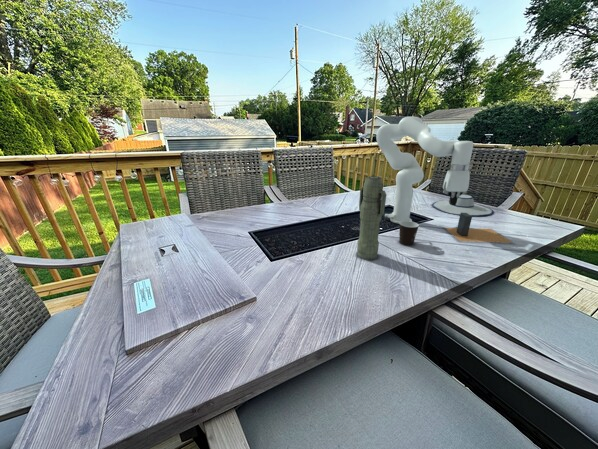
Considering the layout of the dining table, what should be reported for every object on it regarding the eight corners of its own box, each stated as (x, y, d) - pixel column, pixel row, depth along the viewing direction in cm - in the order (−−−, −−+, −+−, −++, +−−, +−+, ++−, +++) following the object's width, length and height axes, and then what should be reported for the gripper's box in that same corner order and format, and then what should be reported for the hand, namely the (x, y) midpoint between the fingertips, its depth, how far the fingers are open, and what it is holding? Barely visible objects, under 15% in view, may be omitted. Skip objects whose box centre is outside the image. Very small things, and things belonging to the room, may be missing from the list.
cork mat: (459, 241, 122) (459, 240, 122) (444, 228, 139) (444, 227, 139) (512, 243, 119) (512, 242, 119) (490, 229, 136) (490, 229, 136)
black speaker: (461, 236, 127) (465, 216, 123) (455, 231, 133) (460, 212, 129) (467, 236, 127) (472, 216, 123) (461, 232, 132) (466, 212, 129)
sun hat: (431, 200, 196) (433, 188, 193) (485, 204, 182) (488, 192, 179) (433, 212, 165) (435, 199, 162) (499, 219, 151) (503, 205, 148)
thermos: (373, 263, 104) (382, 180, 92) (350, 254, 112) (355, 177, 100) (384, 256, 110) (393, 177, 97) (361, 248, 118) (367, 174, 105)
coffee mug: (407, 248, 117) (410, 228, 113) (393, 241, 124) (395, 222, 120) (423, 243, 122) (427, 224, 118) (409, 237, 129) (412, 218, 125)
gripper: (472, 166, 121) (464, 203, 127) (439, 167, 123) (433, 202, 129) (480, 168, 114) (472, 207, 120) (446, 169, 116) (439, 206, 122)
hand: (452, 204), depth 125 cm, fingers closed
